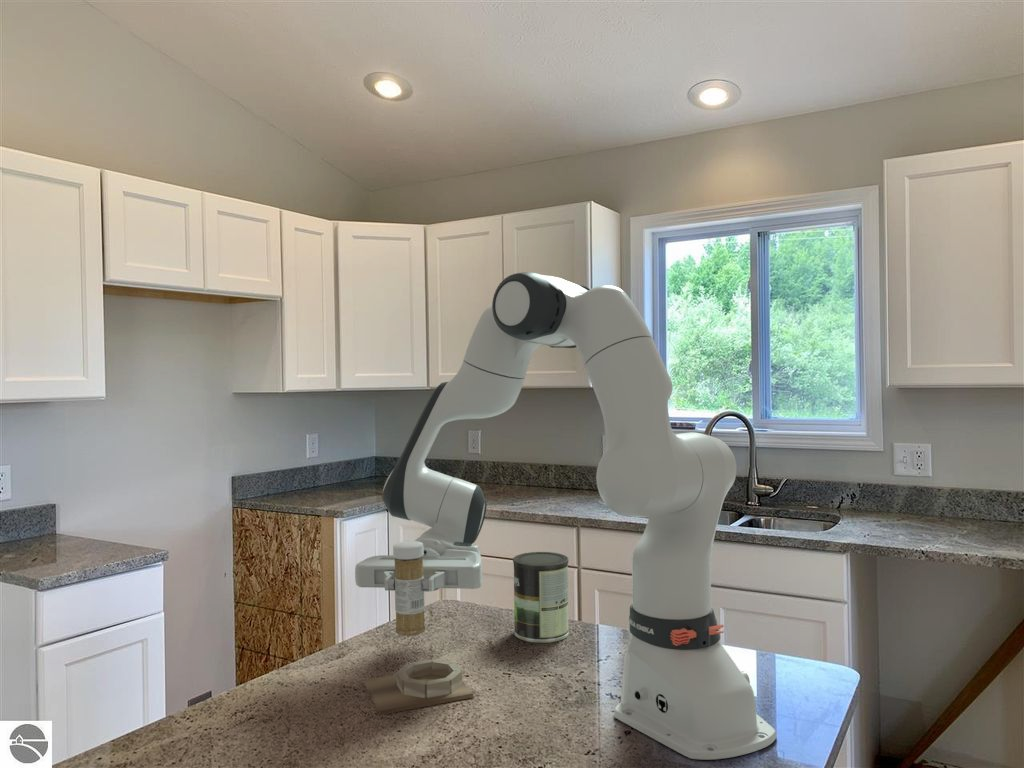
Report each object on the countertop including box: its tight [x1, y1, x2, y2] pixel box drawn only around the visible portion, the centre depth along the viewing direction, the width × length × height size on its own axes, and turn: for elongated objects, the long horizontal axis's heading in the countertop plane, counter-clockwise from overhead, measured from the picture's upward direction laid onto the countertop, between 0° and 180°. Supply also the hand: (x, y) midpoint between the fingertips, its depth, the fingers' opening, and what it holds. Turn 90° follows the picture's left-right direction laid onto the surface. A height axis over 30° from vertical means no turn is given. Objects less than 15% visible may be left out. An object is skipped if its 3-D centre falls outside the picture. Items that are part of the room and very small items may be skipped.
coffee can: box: [512, 551, 570, 644], centre depth 139 cm, size 10×10×14 cm
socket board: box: [362, 658, 474, 716], centre depth 115 cm, size 12×14×3 cm
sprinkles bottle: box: [392, 540, 426, 637], centre depth 113 cm, size 5×5×14 cm
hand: (408, 585), depth 112 cm, fingers closed on sprinkles bottle, 4 cm apart
